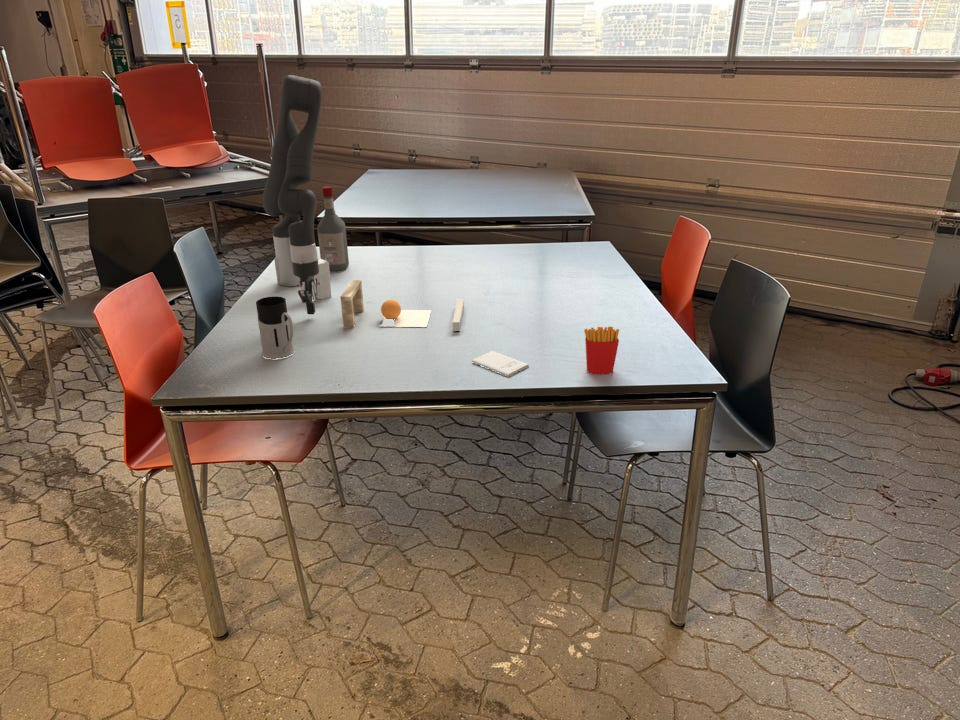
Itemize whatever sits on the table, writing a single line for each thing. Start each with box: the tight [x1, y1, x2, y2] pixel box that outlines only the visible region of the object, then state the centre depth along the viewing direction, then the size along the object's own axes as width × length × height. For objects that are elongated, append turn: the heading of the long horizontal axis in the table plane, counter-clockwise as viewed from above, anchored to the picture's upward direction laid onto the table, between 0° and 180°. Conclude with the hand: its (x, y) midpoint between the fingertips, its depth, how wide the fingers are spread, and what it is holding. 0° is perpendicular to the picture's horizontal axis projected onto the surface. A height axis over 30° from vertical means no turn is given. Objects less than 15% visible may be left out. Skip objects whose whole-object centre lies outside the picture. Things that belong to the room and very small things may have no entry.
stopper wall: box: [452, 298, 465, 332], centre depth 200 cm, size 2×20×3 cm, turn 177°
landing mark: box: [386, 309, 433, 328], centre depth 202 cm, size 14×14×1 cm
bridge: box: [339, 279, 365, 328], centre depth 200 cm, size 3×15×10 cm, turn 178°
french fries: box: [584, 326, 620, 375], centre depth 165 cm, size 8×4×12 cm, turn 90°
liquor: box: [316, 185, 350, 273], centre depth 243 cm, size 9×9×30 cm
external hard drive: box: [471, 350, 530, 377], centre depth 172 cm, size 2×8×12 cm
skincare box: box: [314, 257, 332, 300], centre depth 219 cm, size 6×4×12 cm
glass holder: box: [255, 295, 296, 359], centre depth 174 cm, size 9×14×15 cm, turn 43°
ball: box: [380, 299, 402, 319], centre depth 201 cm, size 6×6×6 cm
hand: (311, 313), depth 202 cm, fingers closed
